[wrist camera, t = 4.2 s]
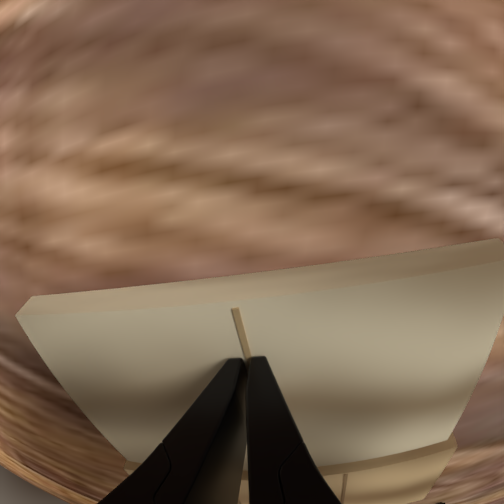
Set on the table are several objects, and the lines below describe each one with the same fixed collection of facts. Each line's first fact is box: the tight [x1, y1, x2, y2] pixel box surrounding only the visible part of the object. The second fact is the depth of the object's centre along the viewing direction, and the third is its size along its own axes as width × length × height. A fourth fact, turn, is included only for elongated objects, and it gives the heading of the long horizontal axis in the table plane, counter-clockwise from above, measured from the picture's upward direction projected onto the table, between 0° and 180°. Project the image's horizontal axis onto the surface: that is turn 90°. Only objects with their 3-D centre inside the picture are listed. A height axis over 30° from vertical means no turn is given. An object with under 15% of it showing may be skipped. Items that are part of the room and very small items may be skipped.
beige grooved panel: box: [15, 238, 504, 471], centre depth 11 cm, size 10×16×1 cm, turn 100°
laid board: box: [123, 432, 458, 504], centre depth 15 cm, size 8×18×1 cm, turn 100°
